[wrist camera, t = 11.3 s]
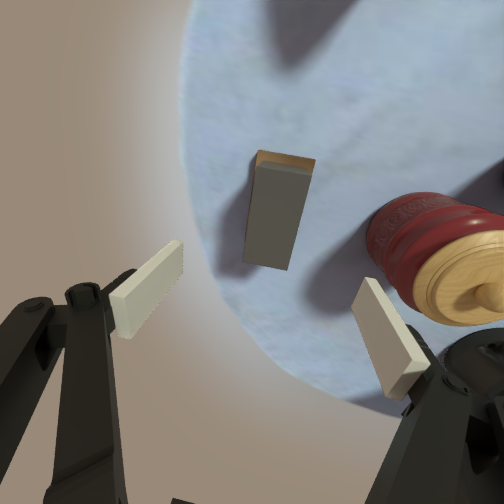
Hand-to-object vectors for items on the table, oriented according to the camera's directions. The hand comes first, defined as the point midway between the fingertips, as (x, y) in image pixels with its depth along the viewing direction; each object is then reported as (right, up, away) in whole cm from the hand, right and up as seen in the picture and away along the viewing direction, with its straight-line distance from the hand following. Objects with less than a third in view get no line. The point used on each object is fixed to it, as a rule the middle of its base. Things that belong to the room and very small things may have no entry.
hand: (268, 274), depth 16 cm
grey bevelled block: (+2, +9, +17) cm, 20 cm away
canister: (+23, +5, +19) cm, 30 cm away
